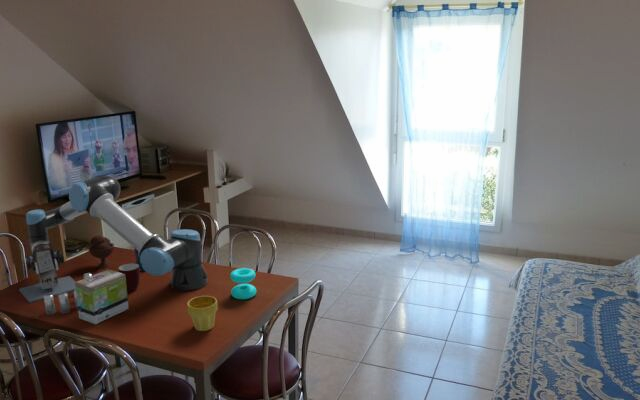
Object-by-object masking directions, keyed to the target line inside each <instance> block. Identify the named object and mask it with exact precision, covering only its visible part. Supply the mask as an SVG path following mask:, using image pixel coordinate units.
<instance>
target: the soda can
mask: <svg viewBox="0 0 640 400" xmlns="http://www.w3.org/2000/svg"><path fill="white" fill-rule="evenodd" d="M133 248H134V247H133ZM138 254H139V251H138V250H137V249H135V248H134V256H135V264H138V265H139V268H140V271H145V270H144V269H143V267H142V264H141V263H140V257H139V255H138Z"/></svg>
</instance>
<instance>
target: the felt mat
mask: <svg viewBox="0 0 640 400" xmlns="http://www.w3.org/2000/svg"><path fill="white" fill-rule="evenodd" d="M57 280H58V286H57V287H52V288H47V289H42V288H41V285H40V282H39V283H35V284H33V285H32V284H31V285H27V286H24V287H20V288H19V289H18V291H19V292H20V294H21V295H22V296H23V297H24V299H26V301H27V303H29V304H32V303H36V302H40V301H44V295H46V294H53V298H54V297H59V296H58V295H59V294H60V293H64V292H65V293H72V292H74V290H75V289H76V285H75V282H76V281H75V279H73V277H71V276H70V275H67V276H63V277H60V278H57Z"/></svg>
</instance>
